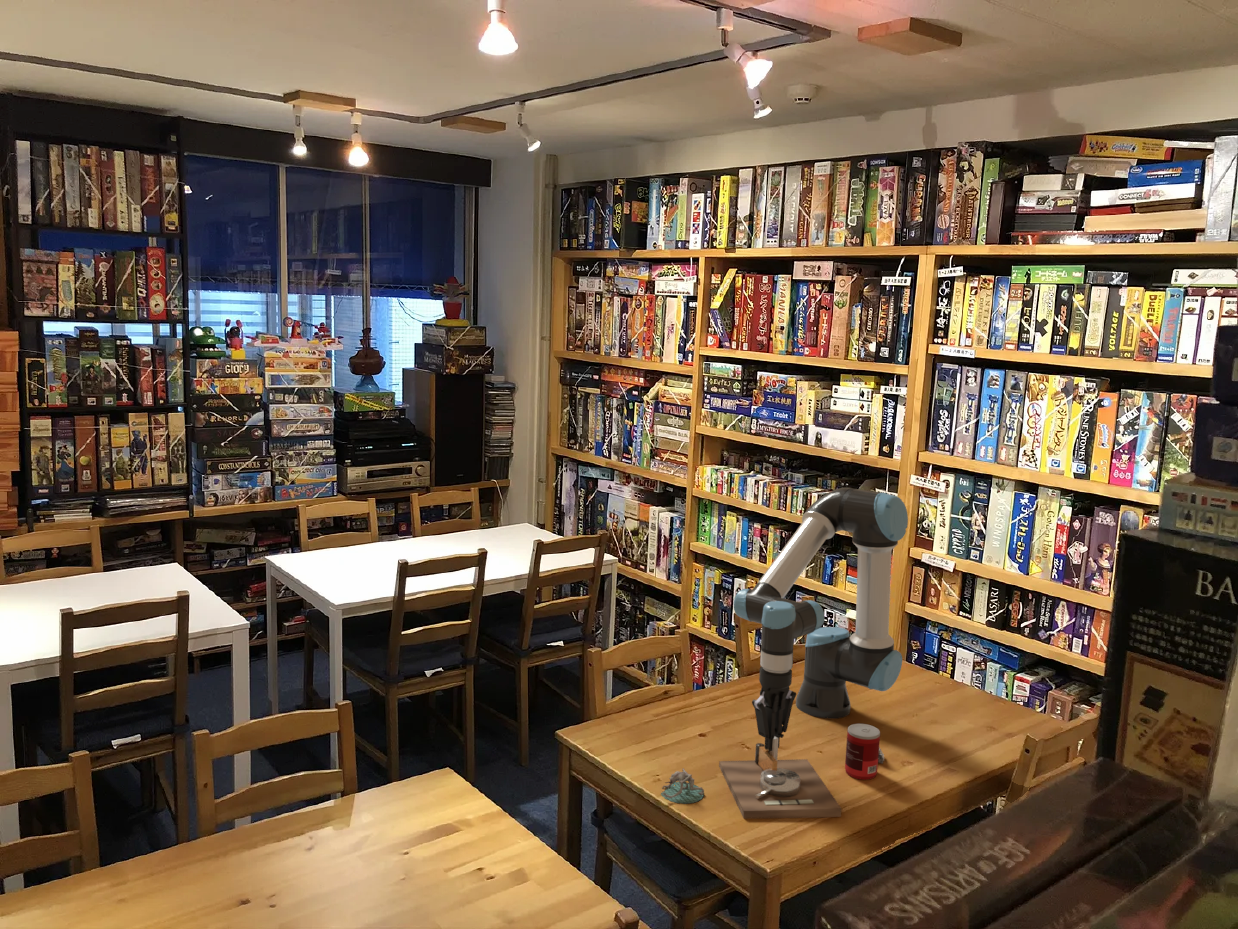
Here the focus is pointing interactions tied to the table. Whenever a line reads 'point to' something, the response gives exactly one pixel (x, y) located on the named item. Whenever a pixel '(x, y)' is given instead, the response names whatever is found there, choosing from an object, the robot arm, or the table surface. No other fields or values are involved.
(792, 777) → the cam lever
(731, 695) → the table surface
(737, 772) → the level stand
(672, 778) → the figurine
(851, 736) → the canned food
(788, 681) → the robot arm
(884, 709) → the table surface
